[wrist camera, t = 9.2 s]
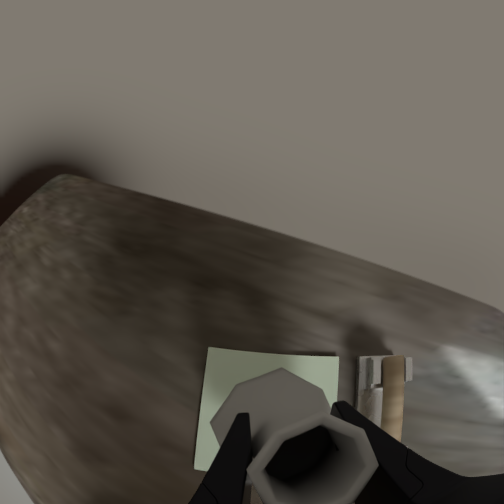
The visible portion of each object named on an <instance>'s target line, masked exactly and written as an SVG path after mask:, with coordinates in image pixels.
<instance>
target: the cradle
mask: <svg viewBox="0 0 504 504" xmlns="http://www.w3.org/2000/svg"><path fill="white" fill-rule="evenodd" d="M389 356H397V355H388V356H359V357H357V373H356V396H355V409H356V410H357V411H358V412H360V413H361V414H362V415H364V416H365V417H366V418H368V419H369V420H370V421H372V422H373V423H374V424H376V425H377V426H378V427H381V414H382V397H383V358H385V357H389ZM406 381H412V357H409V358H405V355H404V385H405V382H406ZM400 442H401V441H400ZM405 446H406V447H408V446H407V445H405Z"/></svg>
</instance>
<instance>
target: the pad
mask: <svg viewBox="0 0 504 504" xmlns="http://www.w3.org/2000/svg"><path fill="white" fill-rule="evenodd" d="M281 367H282V368H284V369H286V370H288V371H289V372H291V373H293V374H295V375H297V376H299V377H300V378H302V379H304V380H306V381H308V382H310V383H312V384H314V385H316V386H318V387H319V388H321V389H323V392H324V394H325V396H326V398H327V401H328V403H329V405H330V407H331V408H332V404H333V403H334V402H337V390H338V369H339V357H330V356H301V355H283V354H270V353H258V352H248V351H238V350H229V349H221V348H214V347H208V354H207V362H206V369H205V377H204V384H203V392H202V400H201V408H200V417H199V425H198V434H197V443H196V453H195V462H194V469H197V470H202V471H208V470H209V468H210V466H211V464H212V462H213V460H214V458H215V456H216V454H217V453H218V451H219V449H220V446H219V443H218V441H217V439H216V436H215V434H214V432H213V429H212V427H211V424H210V421H211V419H212V418H213V417H214V415H215V414H216V412H217V411H218V410H219V408H220V407H221V405H222V404H223V402H224V401H225V400H226V398H227V397H228V395H229V394H230V392H231V391H232V390H233V388H234V387H235V385H236V384H238V383H241V382H244V381H247V380H250V379H252V378H255V377H258V376H260V375H263V374H266V373H268V372H271V371H273V370H276V369H278V368H281Z"/></svg>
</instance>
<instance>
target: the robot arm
mask: <svg viewBox="0 0 504 504" xmlns="http://www.w3.org/2000/svg"><path fill="white" fill-rule="evenodd" d="M330 415H333V416H335V417H337V418H339V419H341V420H343V421H346V422H348V423H350V424H352V425H355V426H357V427H359V428H362V429H364V431H365V433H366V435H367V438H368V440H369V442H370V445H371V447H372V449H373V452H374V454H375V457H376V459H377V462H378V464H379V466H378V467H377V469H376V470H375V472H374V474H373V475H372V477H371V478H370V480H369V481H368V483H367V484H366V486H365V487H364V489H363V490H362V492H361V493H360V495H359V496H358V497H357V499H356V500H355V502H354V503H355V504H504V474H497V475H490V476H480V477H465V476H461V475H458V474H456V473H453V472H451V471H449V470H447V469H445V468H443V467H440V466H438V465H436V464H434V463H432V462H430V461H429V460H427V459H425V458H423V457H422V456H420V455H418V454H417V453H415V452H414V451H412V450H411V449H409V448H408V447H406V446H405V445H404V444H402V443H401V442H399V441H398V440H396V439H395V438H394V437H392V436H391V435H389V434H388V433H387V432H385V431H384V430H383V429H381V428H380V427H378V426H377V425H376V424H374V423H373V422H372V421H370V420H369V419H368V418H366V417H365V416H364V415H362V414H361V413H360V412H358V411H357V410H356V409H355V408H353V407H352V406H351V405H349V404H348V403H347V402H346V401H337V402H334V403H333V404H332V408H331V412H330ZM334 443H335V442H334ZM335 448H336V451H339V449H338V448H337V446H336V444H335ZM252 461H253V457H252V440H251V427H250V414H249V413H248V412H243V413H237V415H236V417H235V419H234V421H233V423H232V425H231V427H230V429H229V431H228V433H227V435H226V437H225V439H224V441H223V443H222V445H221V447H220V449H219V451H218V453H217V454H216V456H215V458H214V460H213V462H212V464H211V466H210V468H209V470H208V471H207V473H206V475H205V477H204V479H203V481H202V483H201V484H200V486H199V487H198V489H197V491H196V493H195V494H194V496H193V497H192V499H191V501H190V502H189V503H188V504H250V499H251V486H252V481H251V479H250V477H249V475H248V473H247V470H246V469H247V468H248V466H249V465H250V464H251V462H252Z"/></svg>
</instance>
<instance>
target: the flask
mask: <svg viewBox="0 0 504 504" xmlns="http://www.w3.org/2000/svg"><path fill="white" fill-rule="evenodd" d="M243 412H248V413H249V414H250V427H251V440H252V457H253V461H252V462H251V464H250V465H249V466H248V468H247V469H246V470H247V473H248V475H249V477H250V479H251V481H252V483H253V485H254V487H255V489H256V491H257V493H258V494H259V496H260V498H261V500H262V502H263V504H352V503H354V502H355V500H356V499H357V497H358V496H359V495H360V493H361V492H362V490H363V489H364V487H365V486H366V484H367V483H368V481H369V480H370V478H371V477H372V475H373V474H374V472H375V470H376V469H377V467H378V466H379V464H378V462H377V459H376V457H375V454H374V452H373V449H372V447H371V445H370V442H369V440H368V438H367V435H366V433H365V431H364V429H362V428H359V427H357V426H355V425H352V424H350V423H348V422H346V421H343V420H341V419H339V418H337V417H335V416H333V415H330V412H331V407H330V405H329V403H328V401H327V398H326V396H325V394H324V392H323V389H321V388H319V387H318V386H316V385H314V384H312V383H310V382H308V381H306V380H304V379H302V378H300V377H299V376H297V375H295V374H293V373H291V372H289V371H288V370H286V369H284V368H282V367H281V368H278V369H276V370H273V371H271V372H268V373H266V374H263V375H260V376H258V377H255V378H252V379H250V380H247V381H244V382H241V383H238V384H236V385H235V387H234V388H233V390H232V391H231V392H230V394H229V395H228V397H227V398H226V400H225V401H224V402H223V404H222V405H221V407H220V408H219V410H218V411H217V412H216V414H215V415H214V417H213V418H212V419H211V421H210V424H211V427H212V429H213V432H214V434H215V436H216V439H217V441H218V443H219V446H220V447H221V445H222V443H223V441H224V439H225V437H226V435H227V433H228V431H229V429H230V427H231V425H232V423H233V421H234V419H235V417H236V415H237V413H243ZM334 442H335V443H334ZM335 444H336V446H337V448H338V449H339V451H336V448H335Z"/></svg>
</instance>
